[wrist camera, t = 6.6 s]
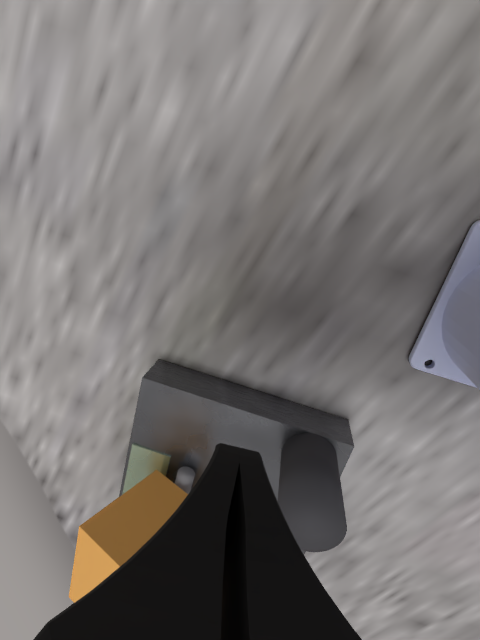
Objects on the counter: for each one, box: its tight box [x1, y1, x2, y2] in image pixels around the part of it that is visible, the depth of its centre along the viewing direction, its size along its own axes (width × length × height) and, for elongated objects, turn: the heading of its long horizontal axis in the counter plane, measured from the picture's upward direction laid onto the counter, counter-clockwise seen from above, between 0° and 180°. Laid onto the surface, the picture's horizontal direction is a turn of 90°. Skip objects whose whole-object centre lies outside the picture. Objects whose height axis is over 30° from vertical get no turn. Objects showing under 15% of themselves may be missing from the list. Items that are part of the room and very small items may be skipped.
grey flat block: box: [119, 359, 354, 555], centre depth 23 cm, size 12×15×3 cm
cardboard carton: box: [69, 467, 195, 603], centre depth 19 cm, size 3×6×6 cm, turn 164°
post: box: [278, 433, 347, 552], centre depth 18 cm, size 3×3×4 cm
